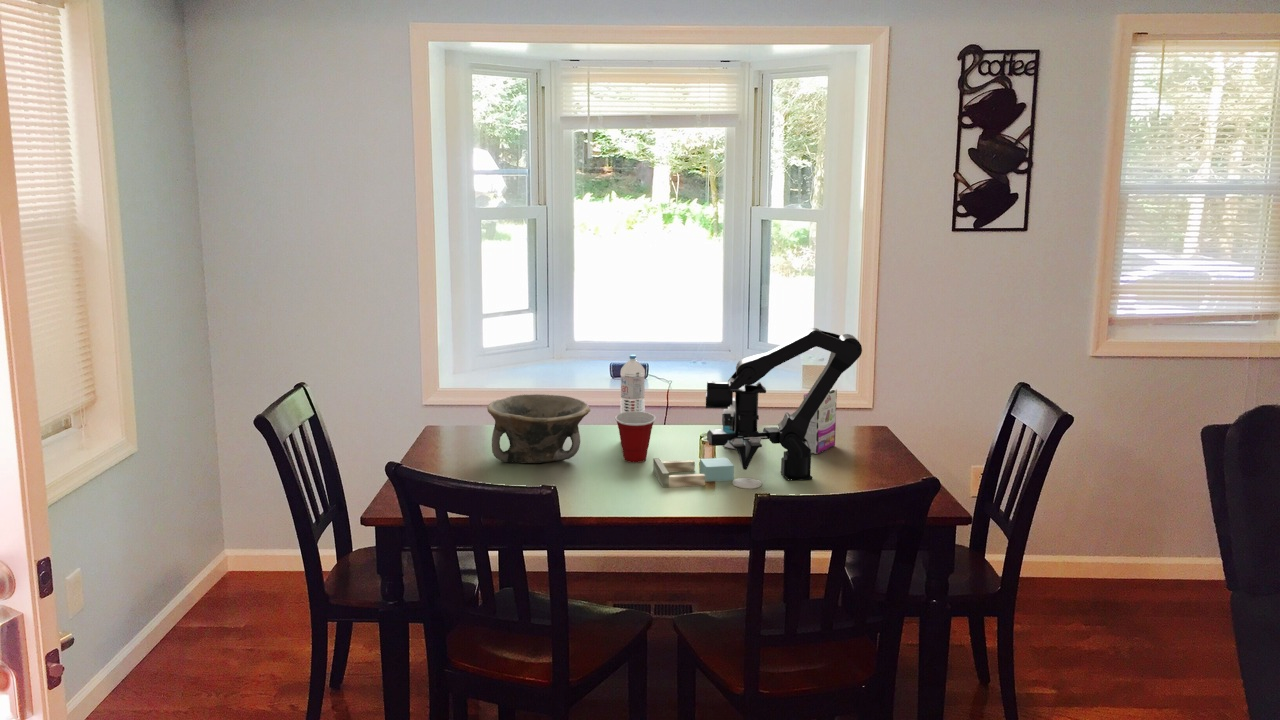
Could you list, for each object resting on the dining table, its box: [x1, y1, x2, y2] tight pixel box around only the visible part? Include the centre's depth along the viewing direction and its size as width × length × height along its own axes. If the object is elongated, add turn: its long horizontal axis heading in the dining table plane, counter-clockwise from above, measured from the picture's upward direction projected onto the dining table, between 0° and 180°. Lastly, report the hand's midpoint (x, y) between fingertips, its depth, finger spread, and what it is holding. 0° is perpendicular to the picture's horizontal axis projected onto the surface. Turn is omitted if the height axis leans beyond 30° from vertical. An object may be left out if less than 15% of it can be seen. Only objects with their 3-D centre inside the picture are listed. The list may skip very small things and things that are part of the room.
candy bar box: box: [803, 388, 838, 455], centre depth 269 cm, size 11×5×16 cm, turn 143°
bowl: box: [486, 393, 591, 464], centre depth 258 cm, size 27×26×15 cm
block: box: [699, 457, 735, 483], centre depth 245 cm, size 7×7×4 cm
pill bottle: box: [722, 396, 745, 450], centre depth 271 cm, size 8×7×14 cm
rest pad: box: [732, 477, 762, 490], centre depth 240 cm, size 7×7×1 cm
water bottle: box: [619, 354, 646, 413], centre depth 273 cm, size 7×7×25 cm
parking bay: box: [652, 457, 706, 488], centre depth 243 cm, size 10×13×4 cm
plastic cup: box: [614, 411, 657, 464], centre depth 258 cm, size 11×11×12 cm
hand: (744, 469), depth 246 cm, fingers closed
